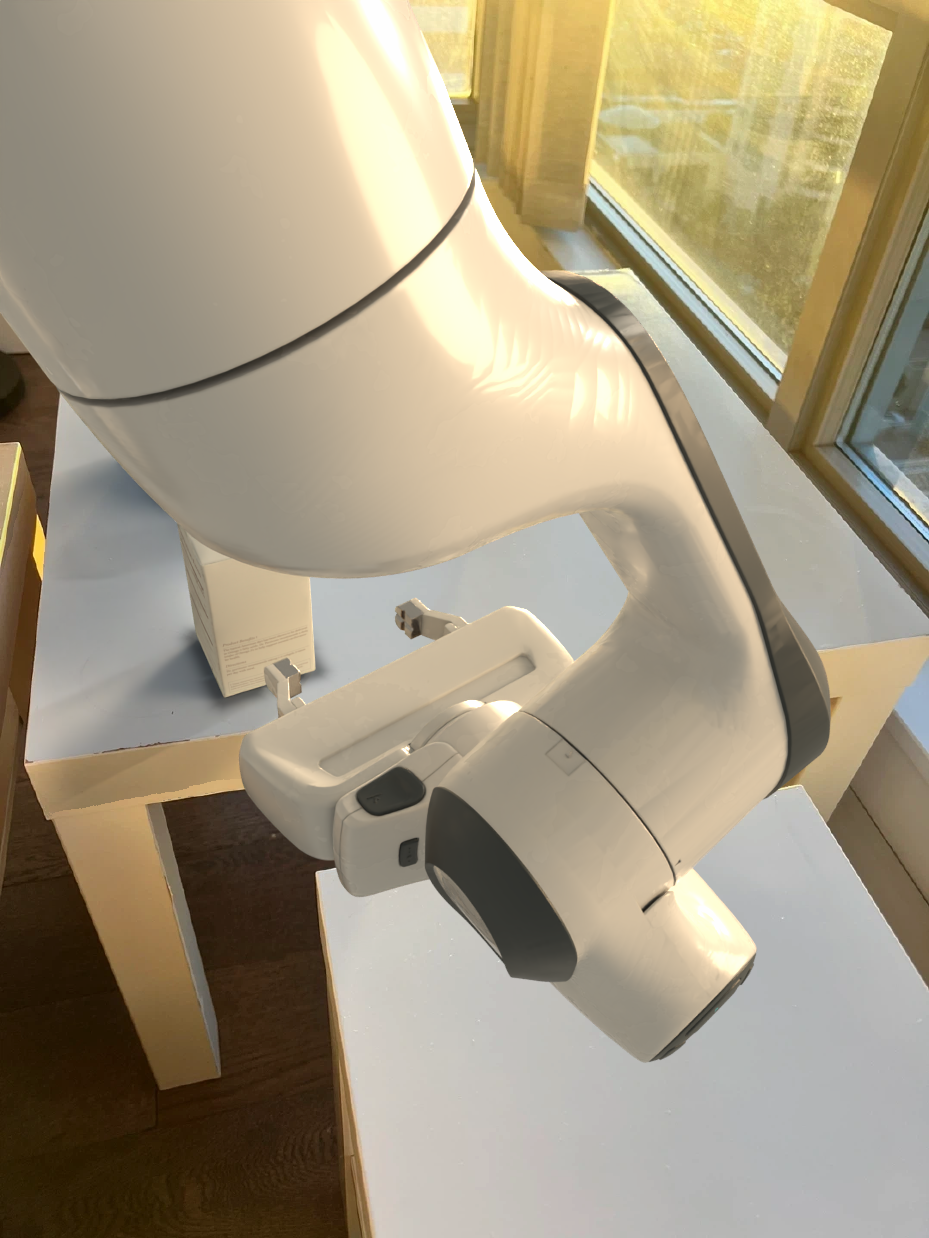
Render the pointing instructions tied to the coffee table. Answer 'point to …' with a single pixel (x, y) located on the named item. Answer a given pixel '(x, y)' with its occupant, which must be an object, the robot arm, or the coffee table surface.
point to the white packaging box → (246, 616)
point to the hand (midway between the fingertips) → (341, 638)
